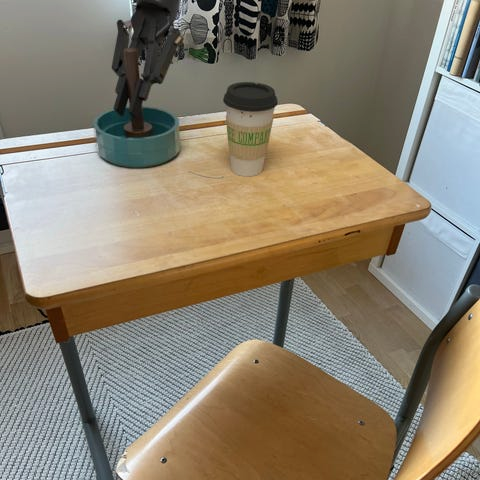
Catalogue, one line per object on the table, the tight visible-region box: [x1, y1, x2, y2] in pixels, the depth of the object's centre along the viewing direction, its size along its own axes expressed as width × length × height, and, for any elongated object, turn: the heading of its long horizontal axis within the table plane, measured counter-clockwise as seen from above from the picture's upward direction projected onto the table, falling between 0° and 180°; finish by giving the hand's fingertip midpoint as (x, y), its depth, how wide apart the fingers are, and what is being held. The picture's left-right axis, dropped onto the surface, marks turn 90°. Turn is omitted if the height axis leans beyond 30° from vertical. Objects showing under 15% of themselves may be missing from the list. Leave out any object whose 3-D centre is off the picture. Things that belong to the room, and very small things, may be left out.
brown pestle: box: [124, 47, 153, 138], centre depth 97 cm, size 6×6×16 cm
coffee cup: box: [222, 81, 278, 177], centre depth 96 cm, size 10×10×15 cm
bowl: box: [92, 105, 181, 169], centre depth 103 cm, size 17×17×6 cm
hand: (125, 113), depth 96 cm, fingers closed on brown pestle, 2 cm apart
